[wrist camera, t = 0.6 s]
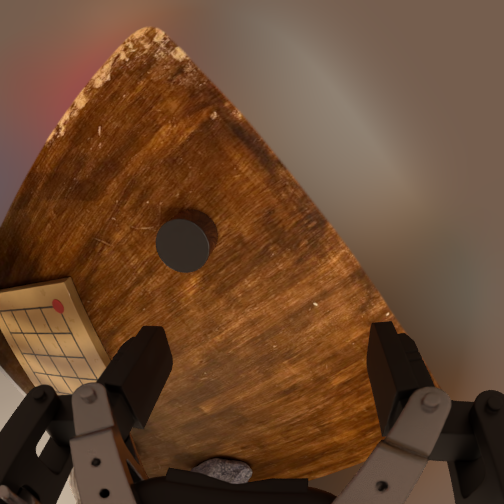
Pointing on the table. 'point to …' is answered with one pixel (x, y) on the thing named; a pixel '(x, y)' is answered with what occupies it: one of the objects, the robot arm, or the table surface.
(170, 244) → the dark grey puck
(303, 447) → the table surface
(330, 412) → the table surface
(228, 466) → the rock
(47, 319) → the board
